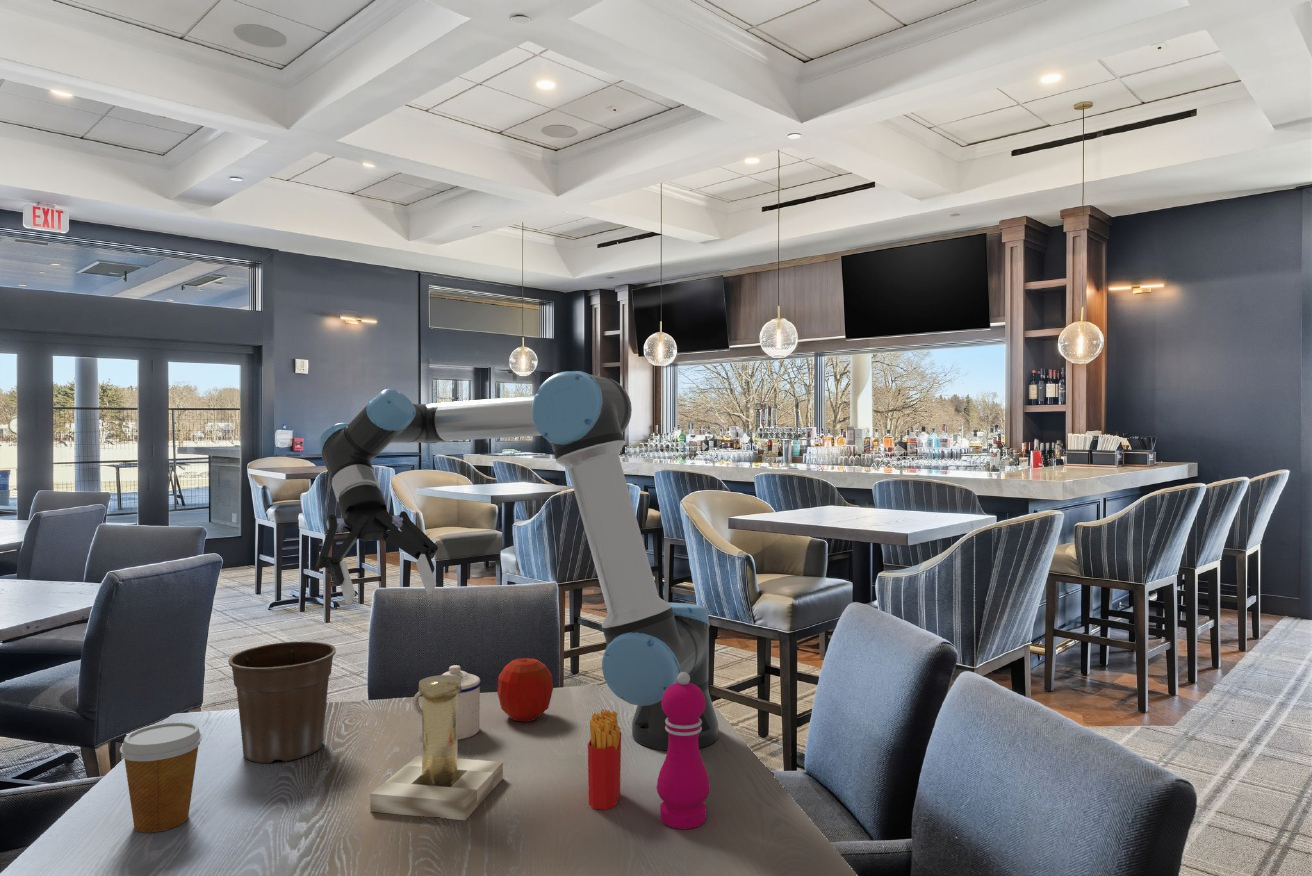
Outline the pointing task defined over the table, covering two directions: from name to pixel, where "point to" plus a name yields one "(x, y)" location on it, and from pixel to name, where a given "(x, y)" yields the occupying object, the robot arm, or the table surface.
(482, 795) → the socket block
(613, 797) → the french fries
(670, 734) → the pepper mill
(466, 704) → the teacup with lid
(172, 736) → the disposable coffee cup
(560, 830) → the table surface
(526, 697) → the apple
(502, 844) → the table surface
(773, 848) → the table surface
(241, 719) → the plant pot
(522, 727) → the table surface
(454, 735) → the gold stepped cylinder
